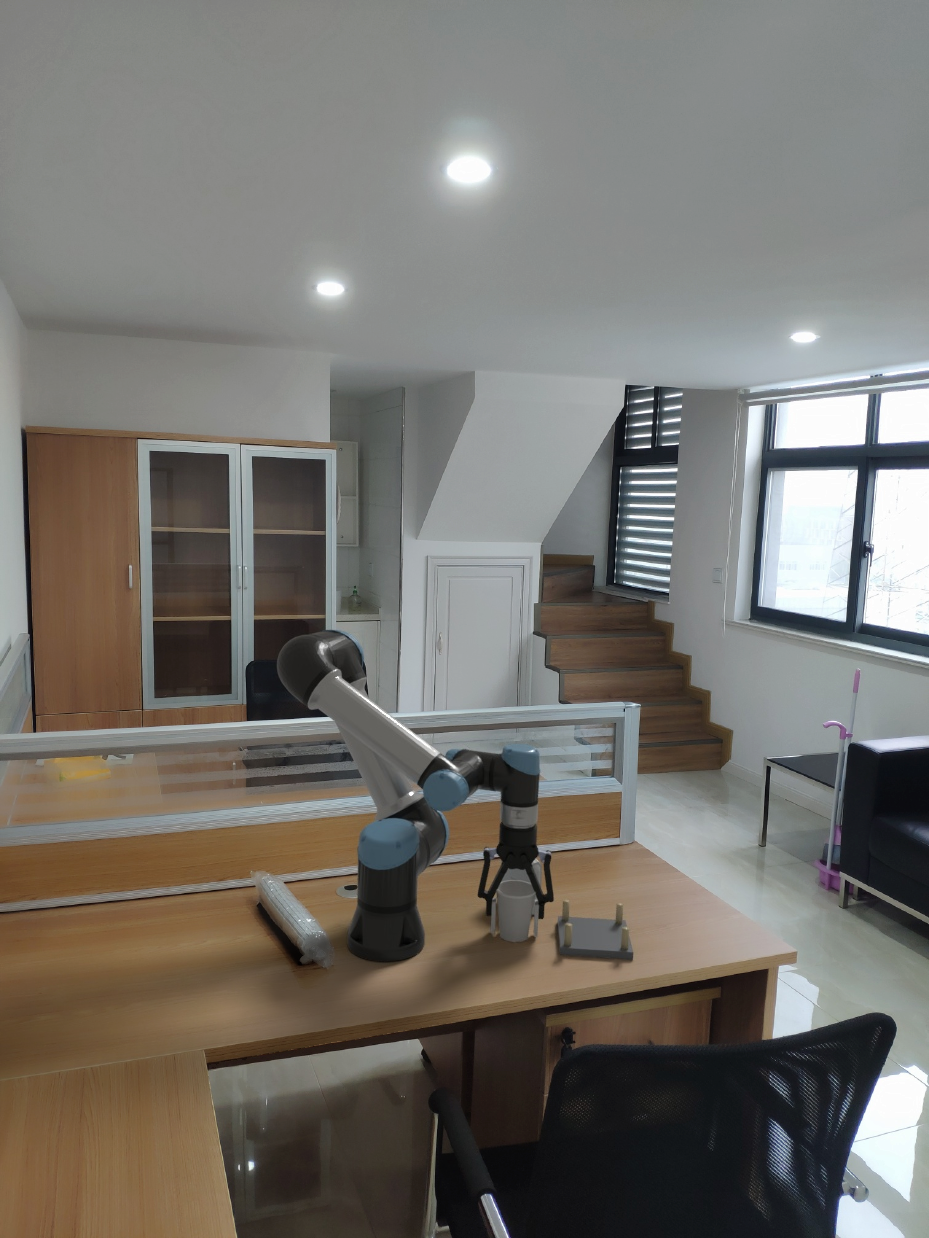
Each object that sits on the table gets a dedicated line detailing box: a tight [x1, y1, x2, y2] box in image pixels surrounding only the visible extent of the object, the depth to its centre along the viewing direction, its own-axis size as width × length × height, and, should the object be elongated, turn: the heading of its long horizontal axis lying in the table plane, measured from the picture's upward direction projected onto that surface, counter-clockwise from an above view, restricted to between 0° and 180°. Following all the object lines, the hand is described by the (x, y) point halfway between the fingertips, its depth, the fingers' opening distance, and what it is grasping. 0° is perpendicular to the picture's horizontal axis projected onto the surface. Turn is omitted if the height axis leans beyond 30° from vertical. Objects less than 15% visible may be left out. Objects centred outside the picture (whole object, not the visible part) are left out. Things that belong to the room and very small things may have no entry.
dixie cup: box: [495, 880, 536, 943], centre depth 177 cm, size 8×8×10 cm
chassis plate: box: [557, 899, 634, 961], centre depth 177 cm, size 14×14×6 cm
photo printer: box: [500, 858, 543, 916], centre depth 191 cm, size 10×4×12 cm, turn 39°
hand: (514, 931), depth 178 cm, fingers closed on dixie cup, 8 cm apart
